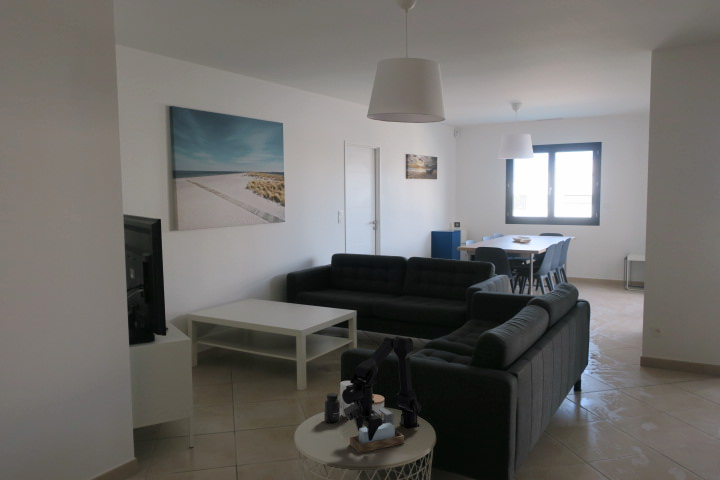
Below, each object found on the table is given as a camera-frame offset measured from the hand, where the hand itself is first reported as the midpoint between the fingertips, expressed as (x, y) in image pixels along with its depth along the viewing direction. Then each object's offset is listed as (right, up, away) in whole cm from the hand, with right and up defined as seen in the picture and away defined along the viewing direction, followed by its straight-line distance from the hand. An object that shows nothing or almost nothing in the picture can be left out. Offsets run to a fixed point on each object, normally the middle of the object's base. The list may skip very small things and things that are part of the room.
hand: (364, 436), depth 214 cm
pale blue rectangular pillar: (+5, -3, +3) cm, 6 cm away
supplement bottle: (-14, -3, +25) cm, 29 cm away
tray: (+5, -4, +3) cm, 7 cm away
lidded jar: (+4, -3, +33) cm, 34 cm away
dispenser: (+8, -3, +17) cm, 19 cm away
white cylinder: (-8, -3, +32) cm, 33 cm away
